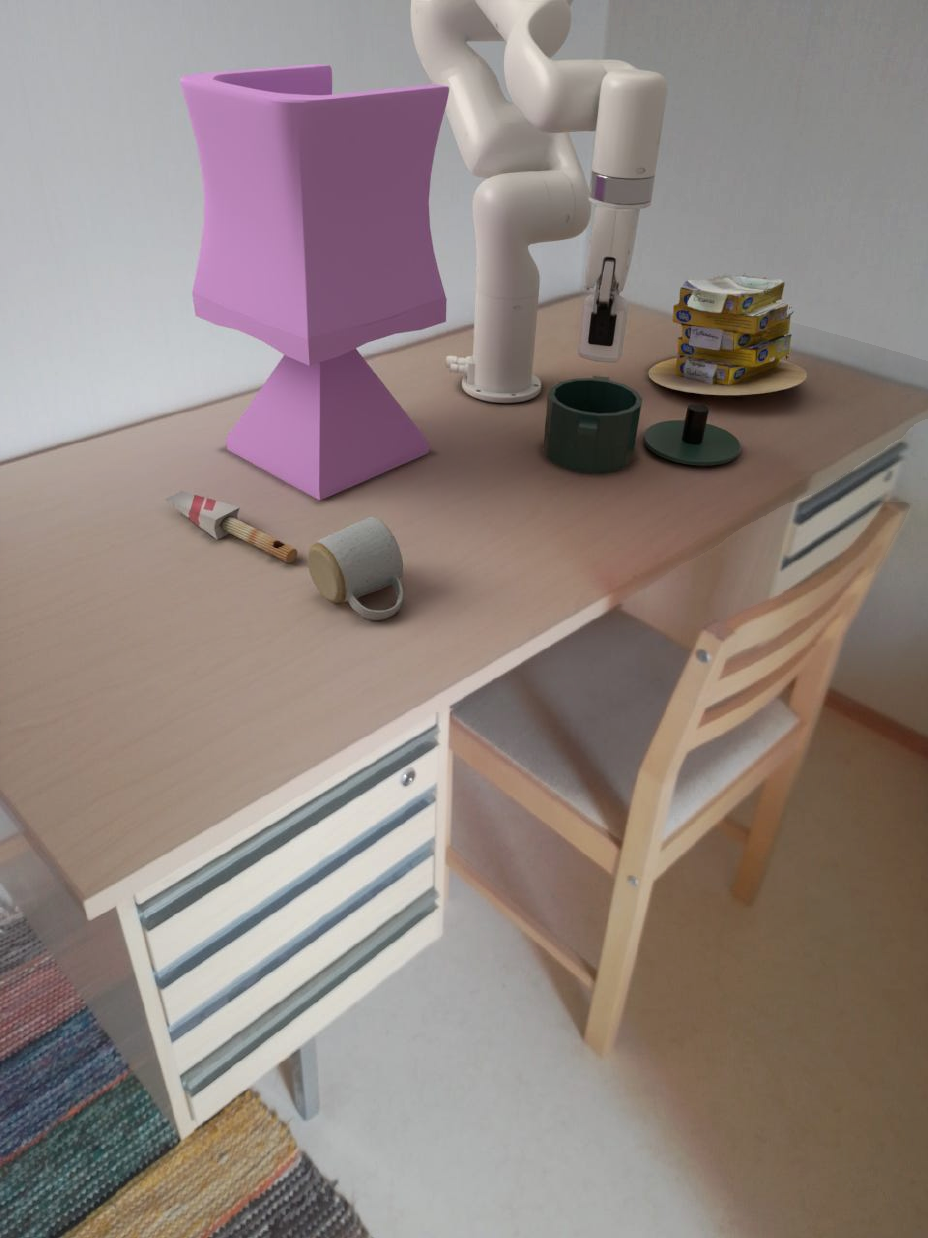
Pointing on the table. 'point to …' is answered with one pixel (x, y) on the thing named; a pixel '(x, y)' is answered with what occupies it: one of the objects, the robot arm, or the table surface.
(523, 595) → the table surface
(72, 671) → the table surface
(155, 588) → the table surface
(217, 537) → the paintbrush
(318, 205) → the pink goblet vase
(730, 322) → the boxes on wooden plate
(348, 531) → the ceramic mug
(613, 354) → the eye dropper bottle
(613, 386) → the pot
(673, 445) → the lid
